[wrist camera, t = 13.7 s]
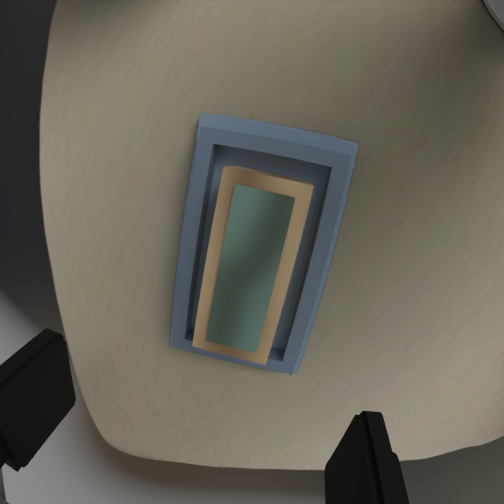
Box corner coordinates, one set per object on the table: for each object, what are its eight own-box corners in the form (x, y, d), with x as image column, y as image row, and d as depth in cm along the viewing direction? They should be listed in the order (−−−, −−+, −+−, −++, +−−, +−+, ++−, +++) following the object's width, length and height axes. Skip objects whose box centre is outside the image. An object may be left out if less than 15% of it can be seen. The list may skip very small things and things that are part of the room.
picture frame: (309, 181, 25) (314, 186, 20) (269, 333, 29) (265, 365, 24) (235, 165, 25) (223, 166, 20) (206, 318, 29) (191, 347, 24)
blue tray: (355, 144, 25) (364, 142, 22) (296, 366, 31) (296, 386, 28) (204, 114, 26) (194, 108, 22) (173, 338, 32) (162, 354, 29)
